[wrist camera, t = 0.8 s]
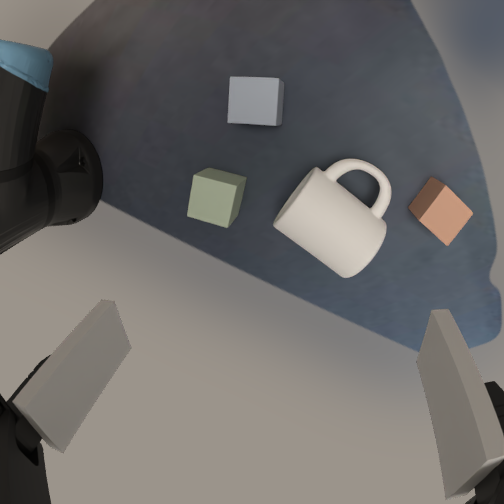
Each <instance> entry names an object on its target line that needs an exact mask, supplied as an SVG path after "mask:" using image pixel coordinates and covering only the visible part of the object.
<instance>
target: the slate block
mask: <svg viewBox="0 0 504 504" xmlns="http://www.w3.org/2000/svg"><path fill="white" fill-rule="evenodd" d="M283 98H284V83H283V82H282V81H281V80H280V79H279V78H263V77H230V87H229V105H228V123H242V124H259V125H272V126H278V125H282V112H283Z"/></svg>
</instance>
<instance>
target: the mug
mask: <svg viewBox="0 0 504 504" xmlns="http://www.w3.org/2000/svg"><path fill="white" fill-rule="evenodd" d="M355 169H359V170H363V171H366V172H368V173H369V174H371V175H372V176H373V177H375V178H376V179H377V181H378V182H379V185H380V192H379V195H378V198H377V200H376V202H375V203H374V205H373V206H372V207H371V208H368V207H367V206H366V205H365V204H363V203H362V202H361V201H360V200H359V199H357V198H356V197H355V196H354V195H352V194H351V193H350V192H349V191H347V190H346V189H345V188H344V187H342V186H341V185H340V184H339V183H337V182H336V180H337V179H338V178H339V177H340V176H341V175H343V174H344V173H346V172H348V171H350V170H355ZM390 199H391V186H390V183H389V181H388V179H387V177H386V176H385V175H384V173H383V172H382V171H381V170H379V169H378V168H377V167H375V166H374V165H372V164H370V163H368V162H366V161H363V160H359V159H343V160H340V161H338V162H336V163H334V164H333V165H331V166H330V167H329V168H327V169H326V170H325V171H322V170H320V169H319V168H318V167H315V168H313V169H312V170H311V171H310V172H309V173H308V174H307V175H306V177H305V178H304V179H303V180H302V181H301V183H300V184H299V185H298V186H297V188H296V189H295V190H294V192H293V193H292V194H291V196H290V197H289V199H288V200H287V201H286V203H285V204H284V206H283V207H282V209H281V210H280V212H279V213H278V215H277V217H276V219H275V220H274V223H273V226H274V227H275V228H276V229H278V230H279V231H280V232H282V233H283V234H285V235H286V236H287V237H289V238H290V239H291V240H293V241H294V242H296V243H297V244H298V245H300V246H301V247H302V248H304V249H305V250H306V251H308V252H309V253H310V254H312V255H313V256H315V257H316V258H317V259H319V260H320V261H321V262H323V263H324V264H325V265H327V266H328V267H329V268H331V269H332V270H333V271H335V272H336V273H337V274H339V275H340V276H341V277H343V278H349V277H352V276H354V275H355V274H357V273H358V272H360V271H361V270H362V269H363V268H364V267H365V266H366V265H367V264H368V263H369V262H370V261H371V260H372V259H373V257H374V256H375V255H376V253H377V252H378V250H379V248H380V247H381V245H382V243H383V240H384V238H385V235H386V229H387V227H386V223H385V221H384V220H382V219H381V217H382V215H383V214H384V213H385V211H386V209H387V207H388V205H389V203H390Z"/></svg>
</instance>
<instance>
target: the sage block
mask: <svg viewBox="0 0 504 504" xmlns="http://www.w3.org/2000/svg"><path fill="white" fill-rule="evenodd" d="M246 180H247V177H244V176H240V175H236V174H232V173H229V172H225V171H221V170H217V169H213V168H209V167H208V168H206V169H204V170H202V171H200V172H198V173H197V174H195V175H194V177H193V183H192V188H191V194H190V200H189V206H188V213H187V216H188V217H192V218H195V219H199V220H202V221H205V222H209V223H212V224H215V225H219V226H222V227H226V228H228V227H229V226H230V224H231V223H232V222H233V221H234V219H235V218H236V217H237V216H238V214H239V210H240V205H241V201H242V197H243V192H244V188H245V184H246Z"/></svg>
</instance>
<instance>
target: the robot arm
mask: <svg viewBox="0 0 504 504" xmlns="http://www.w3.org/2000/svg"><path fill="white" fill-rule="evenodd" d="M52 67H53V56H52V54H51V53H50V52H49V51H48V50H46V49H43V48H39V47H35V46H31V45H26V44H21V43H16V42H11V41H5V40H0V254H2V253H3V252H5V251H7V250H8V249H10V248H11V247H13V246H14V245H16V244H17V243H19V242H21V241H23V240H24V239H26V238H27V237H29V236H31V235H32V234H34V233H36V232H37V231H39V230H41V229H43V228H44V227H47V226H59V225H70V224H74V223H77V222H79V221H81V220H83V219H85V218H86V217H88V216H89V215H90V214H91V213H92V212H93V211H94V210H95V208H96V207H97V205H98V203H99V200H100V197H101V192H102V183H103V179H102V169H101V164H100V161H99V158H98V155H97V153H96V151H95V149H94V147H93V145H92V144H91V143H90V141H89V140H88V139H87V138H86V137H85V136H84V135H82V134H81V133H79V132H77V131H75V130H70V129H65V130H60V131H55V132H52V133H50V134H48V135H46V136H45V137H44V138H42V139H41V140H39V141H38V142H37V143H36V141H37V135H38V129H39V124H40V120H41V115H42V111H43V106H44V102H45V98H46V94H47V92H48V91H49V88H48V85H49V80H50V75H51V71H52ZM130 349H131V345H130V343H129V340H128V338H127V335H126V332H125V330H124V327H123V324H122V321H121V319H120V316H119V313H118V310H117V307H116V304H115V302H114V301H108V300H101V301H100V302H99V303H98V304H97V305H96V306H95V307H94V308H93V309H92V310H91V312H89V314H88V315H87V316H86V317H85V318H84V319H83V320H82V321H81V322H80V323H79V324H78V325H77V326H76V328H75V329H74V330H73V331H72V332H71V333H70V334H69V335H68V336H67V338H66V339H65V340H64V341H63V342H62V343H61V344H60V345H59V346H58V348H57V349H56V350H55V351H54V352H53V353H52V354H51V355H49V356H48V357H46V358H45V359H44V360H42V361H41V362H40V363H39V364H38V365H37V366H36V367H35V368H34V371H32V372H31V373H30V374H29V375H28V378H26V379H25V380H24V381H23V383H22V384H21V385H20V386H19V387H18V389H17V390H16V391H15V392H14V394H13V395H12V396H11V397H10V398H9V400H8V401H7V402H6V401H5V400H4V398H3V397H2V396H1V394H0V504H51V500H50V495H49V489H48V483H47V477H46V470H45V462H44V453H43V447H42V445H41V443H40V441H41V439H42V438H43V440H44V441H45V442H46V443H47V444H48V445H49V446H50V447H52V448H54V449H55V450H57V451H59V452H61V453H64V451H65V449H66V447H67V446H68V445H69V443H70V441H71V439H72V438H73V436H74V434H75V433H76V432H77V430H78V428H79V427H80V425H81V424H82V422H83V421H84V419H85V417H86V416H87V414H88V413H89V411H90V410H91V408H92V407H93V405H94V403H95V402H96V400H97V399H98V397H99V396H100V394H101V393H102V391H103V390H104V388H105V387H106V385H107V384H108V382H109V381H110V379H111V378H112V376H113V374H114V373H115V372H116V370H117V369H118V367H119V366H120V364H121V362H122V361H123V360H124V358H125V357H126V355H127V354H128V352H129V351H130ZM416 363H417V366H418V369H419V373H420V376H421V380H422V384H423V387H424V391H425V395H426V398H427V403H428V407H429V411H430V415H431V420H432V424H433V429H434V433H435V438H436V443H437V448H438V453H439V458H440V464H441V470H442V477H443V483H444V490H445V497H446V500H448V499H452V498H456V497H460V496H464V495H467V494H468V493H469V492H470V491H471V490H472V489H473V488H475V494H476V495H475V496H474V497H472V498H471V499H470V500H469V501H467V502H466V503H465V504H504V391H503V390H502V389H501V388H500V387H499V386H498V384H497V383H496V382H495V381H492V382H487V383H484V382H483V380H482V377H481V375H480V373H479V370H478V368H477V366H476V364H475V362H474V359H473V357H472V355H471V353H470V351H469V349H468V346H467V344H466V342H465V340H464V338H463V336H462V334H461V332H460V330H459V328H458V326H457V324H456V322H455V321H454V319H453V317H452V315H451V313H450V311H449V309H440V310H431V314H430V318H429V322H428V325H427V329H426V332H425V336H424V339H423V342H422V345H421V349H420V352H419V355H418V358H417V361H416Z"/></svg>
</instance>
